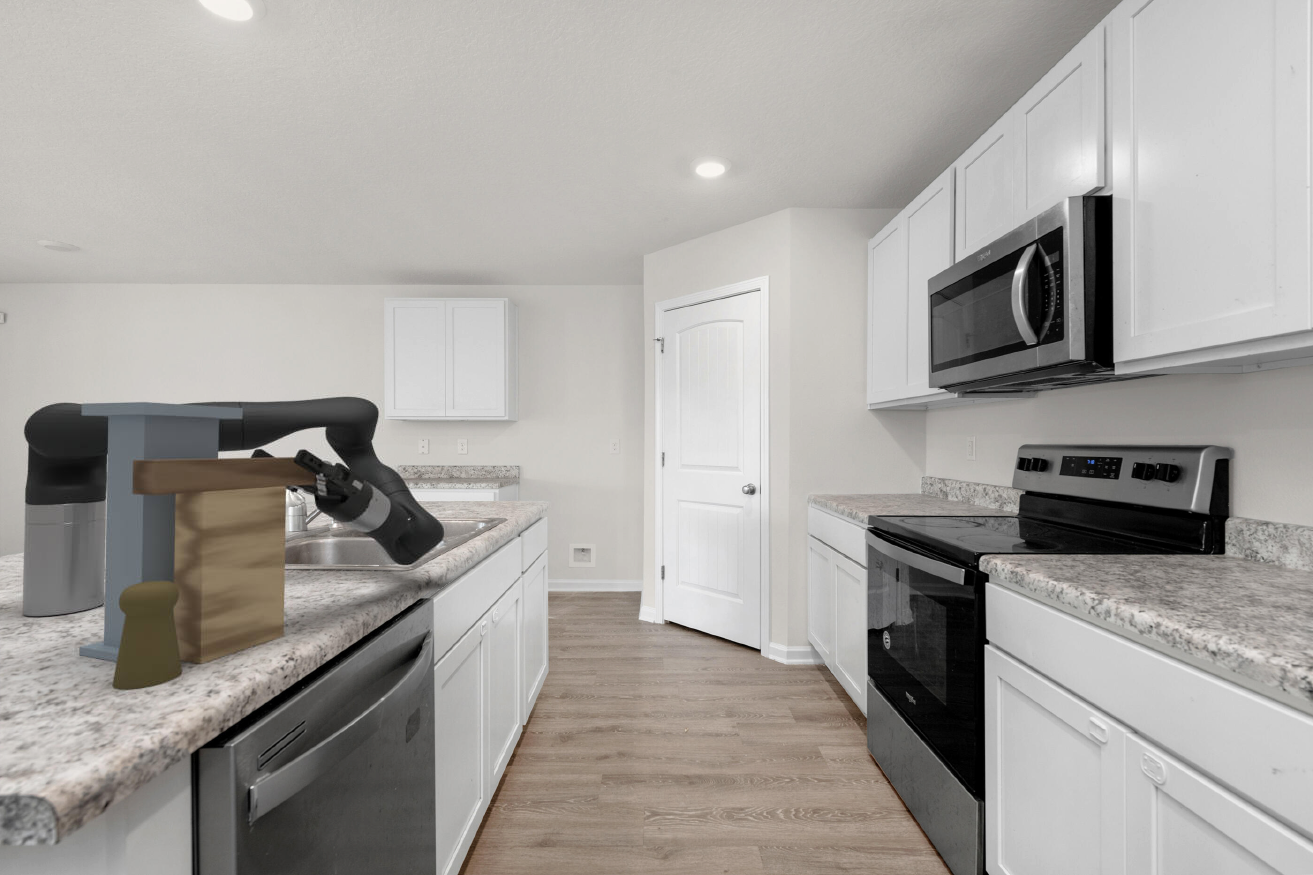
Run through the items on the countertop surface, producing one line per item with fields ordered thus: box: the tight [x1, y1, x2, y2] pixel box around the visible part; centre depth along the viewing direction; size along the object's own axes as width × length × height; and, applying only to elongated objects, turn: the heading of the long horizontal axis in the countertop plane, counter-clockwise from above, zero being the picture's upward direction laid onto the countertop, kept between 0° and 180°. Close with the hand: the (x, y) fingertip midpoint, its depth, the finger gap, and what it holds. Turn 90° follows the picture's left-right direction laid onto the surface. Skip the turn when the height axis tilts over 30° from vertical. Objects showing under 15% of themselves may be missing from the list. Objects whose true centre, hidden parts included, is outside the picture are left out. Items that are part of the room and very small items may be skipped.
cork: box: [112, 581, 183, 691], centre depth 67 cm, size 6×6×11 cm
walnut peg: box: [132, 456, 315, 495], centre depth 77 cm, size 4×21×4 cm, turn 161°
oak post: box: [174, 486, 287, 665], centre depth 77 cm, size 5×11×21 cm, turn 162°
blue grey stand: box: [78, 401, 243, 663], centre depth 78 cm, size 12×12×32 cm
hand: (275, 454), depth 83 cm, fingers open, 8 cm apart
